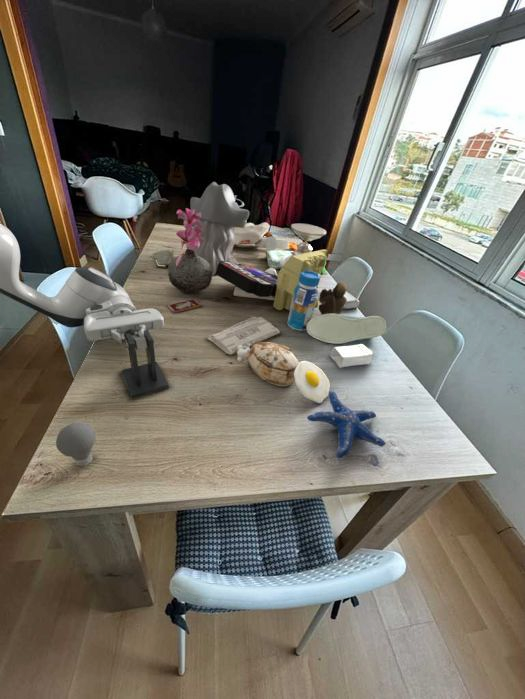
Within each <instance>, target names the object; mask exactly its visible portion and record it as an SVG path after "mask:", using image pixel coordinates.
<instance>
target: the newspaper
mask: <svg viewBox="0 0 525 699" xmlns="http://www.w3.org/2000/svg"><path fill="white" fill-rule="evenodd" d="M280 333H281V332H280V330H279V329H278V328H277V327H276V326H274V325H273V324H272V323H270V321H268V320H266V318H264V317H261V316H257V317H256V316H252V317H250V318H248V319H244V320H242V321H240V322H238V323H236V324H234V325H231V326H229V327H227V328H226V329H223V330H221V331H218V332H215V333H213V334H210V337H209V338H207V340H209V341H210V342H212V343H213V344H214V345H215V346H217V347H218V348H220V349H221V350H222V351H223V352H224V353H225V354H227V355H233V354H237V352H238V346H239V345H241V344H242V341H243V340H244V342H245V343H244V342H243V344H242V346H247V347H249V348H250V347H252V346H254V345H255V344H256V343H259V342H264V341H266V340H267V339H270V338H272V337H274V336H276V335H279V334H280ZM245 338H249V339H251V341H249V342H246V340H245ZM240 340H241V341H240ZM247 343H249V344H250V343H251V345H252V346H251V345H250V346H249V344H247ZM244 348H246V347H244ZM244 348H243V349H244ZM244 350H245V349H244Z"/></svg>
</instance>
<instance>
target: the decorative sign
mask: <svg viewBox="0 0 525 699" xmlns="http://www.w3.org/2000/svg"><path fill="white" fill-rule="evenodd" d="M238 263H239V262H238ZM215 275H216V276H217V277H219V278H221V279H223V280H224V281H226V282H228V283H229V284H231V285H233V286H234V287H235V286H236V287H238V288H240V289H241V290H243V291H245V292H247V293H253V294H254V295H256V296H259V297H270V295H271V296H275V294H276V289H277V285H276V284H277V278H278V275H277V276H276V275H273V274H269V273H267V272H266V270H265V271H264V270H262V269H258V268H256V267H253V266H250V265H247V264H244V263H239V265H238V264H235V263H232V262H227V261H221V260H220V262H219V264H218V267H217V271H216V274H215Z"/></svg>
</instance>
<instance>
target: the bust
mask: <svg viewBox="0 0 525 699" xmlns="http://www.w3.org/2000/svg"><path fill="white" fill-rule="evenodd" d="M237 196H238V195H235V194H234V192H233V189H232V188H231V187H230V186H229V185H228V184H226V183H222V184H218V183H217V182H216V181H212V182H211V183H210V184H209V185H208V186H207V187H206V188H205V190H204V191H203V193H202V195H201V197H200V198H199V197H195V196H192V197H191V198H190V207H189V208H190V210H193V209H195V212H194V214H197V213H199V212H200V213H201V217H197V218H196V220H198V221H199V222H200V223H201V225H202V228H201V227H200V226H199V225H197V224H194V225H193V226H192V229H193V230H195V228H196V226H198V227H199V229H200V230H201V231H202V232H203V233H202V234H200V235H199V236H197V237H198V238H199V237H200V238H204V241H203V243H201V242H200V241H199V242H200V245H199V247H198V245H196V246H195V249H194V251H195V253H196V255H197V256H200V257H202V258H203V259H205V260H206V261H207V262H208V263H209V264H210V266H211V268H212V276H213V275H216V271H217V267H218V264H219V262H220V260H221V261H227V262H232V263H235V264H238V265H239V262H238V261H236V259H235V258H234V257H233V249H234V246H235V245H234V243H235V236H234V230H235V228H236V229H238V228H244V227H245V225H246V223H248V222H247V220H248V219H249V216H250V211H249V210H248V209H245V208H243V207H244V206H245V203H244V201H242V200H241V199H238V198H237ZM236 200H237V201H240V202H241V205H239V204H238V202H236ZM186 250H187V248H186V249H185V251H184V253H185V252H186Z"/></svg>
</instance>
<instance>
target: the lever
mask: <svg viewBox="0 0 525 699" xmlns="http://www.w3.org/2000/svg"><path fill="white" fill-rule="evenodd" d="M128 333H130V334H131V336H132V338H133V340H134V342H135V347H136V351H140V350H144V349H145V350H146V348H147V344H146V339H145V338H144V337H143V336H142V337H139V334H138V332H137V331H136V330H133V329H129V330H127V331H126V332H125V333H124V336H125V341H126V342H127V340H126V334H128Z"/></svg>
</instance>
